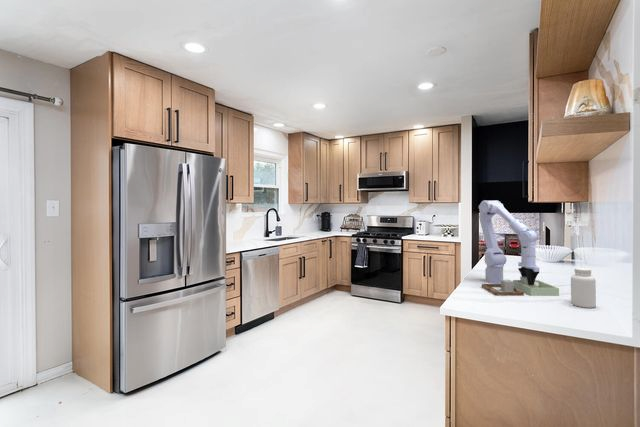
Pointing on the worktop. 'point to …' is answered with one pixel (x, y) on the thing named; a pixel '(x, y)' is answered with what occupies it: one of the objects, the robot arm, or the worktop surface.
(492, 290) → the walnut tray
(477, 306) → the worktop surface
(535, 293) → the green bin
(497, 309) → the worktop surface
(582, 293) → the pill bottle
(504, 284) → the stone
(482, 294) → the worktop surface
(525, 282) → the grey rectangular block
